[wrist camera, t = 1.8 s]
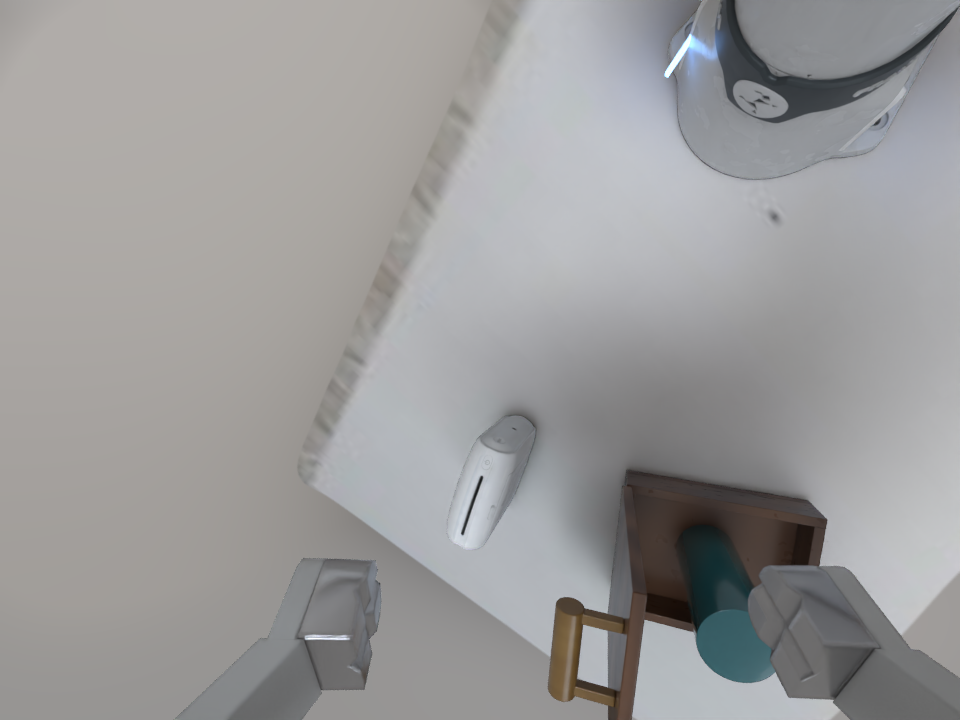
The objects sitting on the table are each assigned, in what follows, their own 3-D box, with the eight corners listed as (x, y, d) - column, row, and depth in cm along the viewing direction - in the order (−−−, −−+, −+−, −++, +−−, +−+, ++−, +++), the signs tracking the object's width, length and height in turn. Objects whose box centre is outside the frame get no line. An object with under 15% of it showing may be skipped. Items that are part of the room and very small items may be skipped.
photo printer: (504, 407, 48) (466, 437, 37) (542, 423, 47) (515, 458, 36) (475, 492, 50) (430, 546, 39) (510, 509, 49) (475, 569, 38)
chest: (808, 500, 41) (827, 519, 37) (786, 629, 42) (802, 660, 38) (626, 469, 45) (626, 484, 41) (613, 587, 47) (612, 611, 43)
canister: (698, 513, 43) (729, 594, 30) (748, 549, 42) (801, 647, 29) (664, 552, 44) (680, 645, 32) (712, 588, 43) (747, 698, 31)
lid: (647, 595, 25) (557, 575, 26) (622, 793, 27) (537, 765, 28) (631, 486, 41) (575, 477, 42) (616, 615, 42) (562, 602, 44)
